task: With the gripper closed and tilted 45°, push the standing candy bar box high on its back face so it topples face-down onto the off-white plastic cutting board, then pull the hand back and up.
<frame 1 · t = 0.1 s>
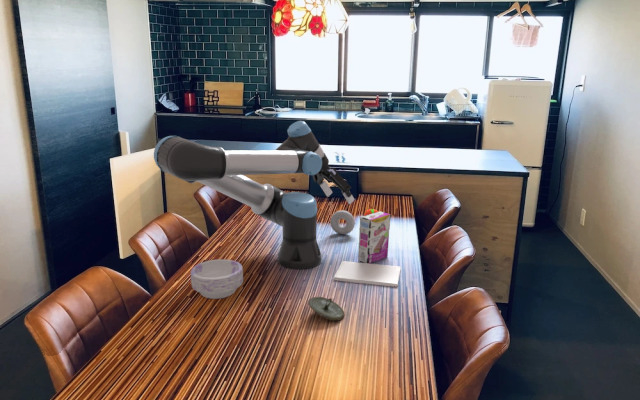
hand: (340, 198, 199), 15 cm above the table, tool tilted 35°, fingers open, 13 cm apart
paper bowls: (217, 293, 152), on the table
donut: (342, 234, 204), on the table
cutting board: (368, 274, 166), on the table
candy bar box: (373, 260, 179), on the table
lid: (326, 315, 140), on the table
clementine: (371, 225, 216), on the table
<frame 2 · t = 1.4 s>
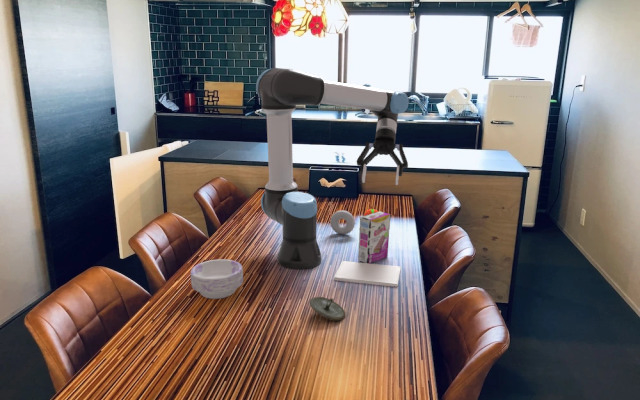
hand: (379, 182, 182), 25 cm above the table, tool tilted 45°, fingers open, 11 cm apart
nothing on the table moved.
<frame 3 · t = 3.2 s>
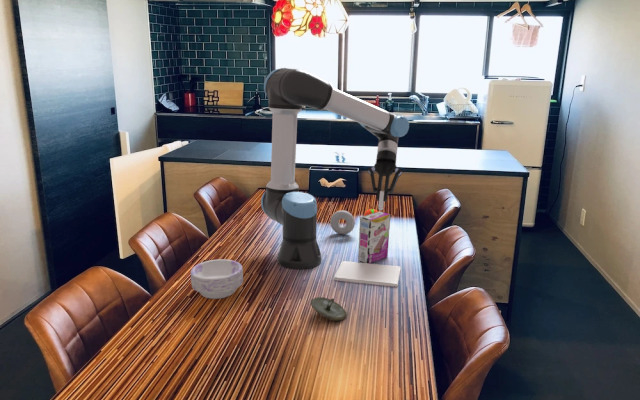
hand: (380, 208, 184), 16 cm above the table, tool tilted 45°, fingers closed
nothing on the table moved.
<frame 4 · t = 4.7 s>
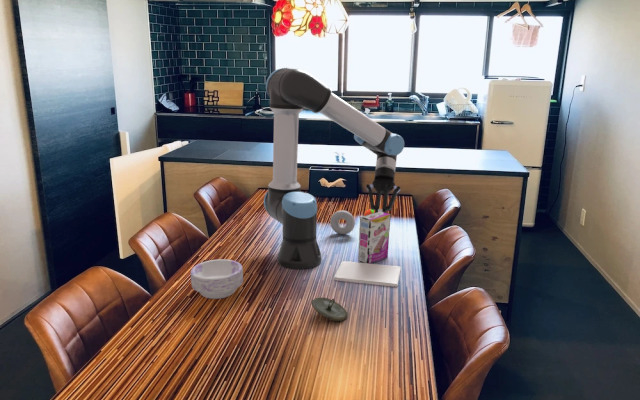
hand: (378, 226, 182), 10 cm above the table, tool tilted 45°, fingers closed
candy bar box: (373, 260, 179), on the table, touching gripper
everything else where it was.
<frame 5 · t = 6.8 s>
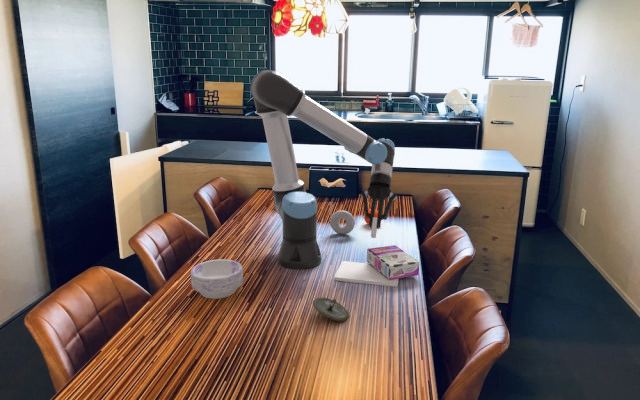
hand: (373, 236, 172), 10 cm above the table, tool tilted 45°, fingers closed
candy bar box: (380, 253, 175), point 3 cm above the table, touching cutting board
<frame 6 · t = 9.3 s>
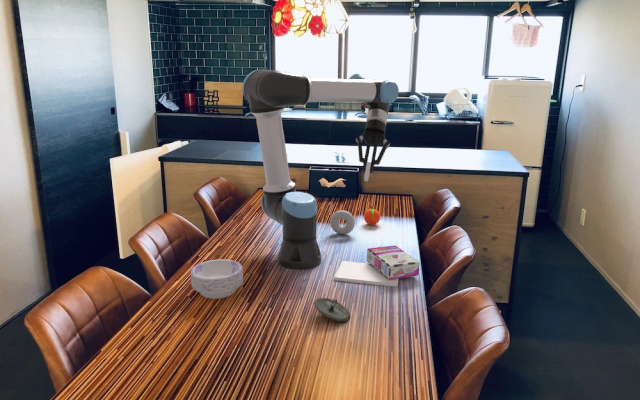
hand: (366, 179, 181), 27 cm above the table, tool tilted 40°, fingers closed
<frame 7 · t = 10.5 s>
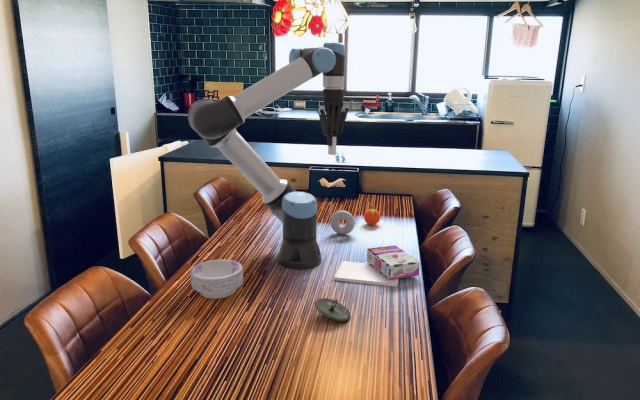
hand: (332, 154, 185), 34 cm above the table, tool pointing down, fingers closed
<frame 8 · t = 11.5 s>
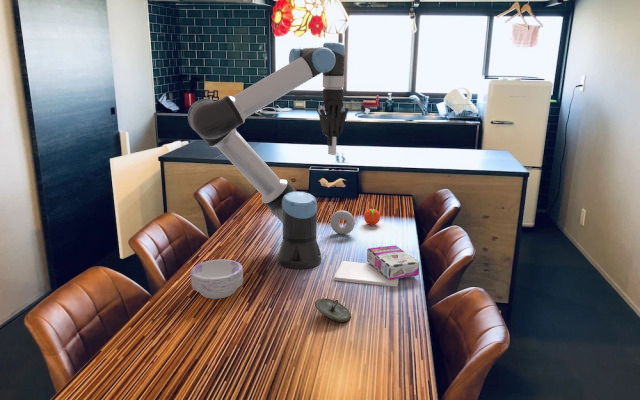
hand: (332, 154, 185), 34 cm above the table, tool pointing down, fingers closed
at the end: candy bar box tilted 89°; candy bar box touching cutting board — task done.
